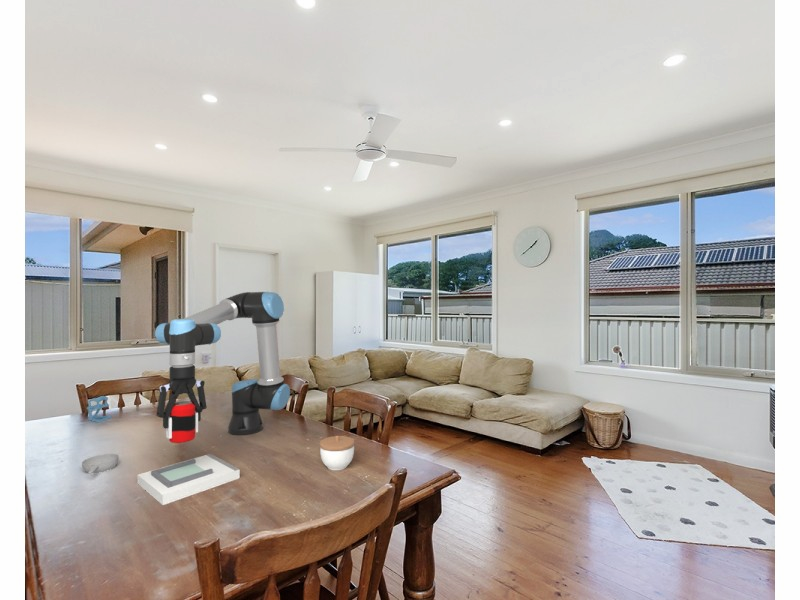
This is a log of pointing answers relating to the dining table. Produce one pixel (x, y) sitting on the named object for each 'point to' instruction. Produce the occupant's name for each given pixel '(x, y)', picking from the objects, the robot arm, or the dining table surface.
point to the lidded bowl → (337, 451)
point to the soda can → (183, 422)
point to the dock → (187, 478)
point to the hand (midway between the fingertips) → (182, 434)
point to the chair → (97, 409)
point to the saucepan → (100, 463)
